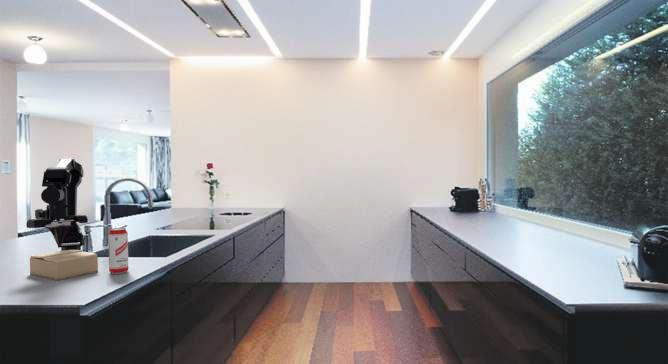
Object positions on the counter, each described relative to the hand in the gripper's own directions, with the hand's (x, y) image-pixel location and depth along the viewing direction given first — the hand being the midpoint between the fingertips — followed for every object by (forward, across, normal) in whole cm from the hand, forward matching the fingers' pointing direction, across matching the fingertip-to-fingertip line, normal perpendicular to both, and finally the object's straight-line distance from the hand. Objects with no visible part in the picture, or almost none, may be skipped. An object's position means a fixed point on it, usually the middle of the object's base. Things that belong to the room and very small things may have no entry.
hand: (59, 244), depth 158 cm
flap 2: (+4, 0, +7) cm, 8 cm away
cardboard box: (+10, 0, +3) cm, 10 cm away
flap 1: (+4, 0, -2) cm, 4 cm away
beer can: (+10, -10, +20) cm, 25 cm away
